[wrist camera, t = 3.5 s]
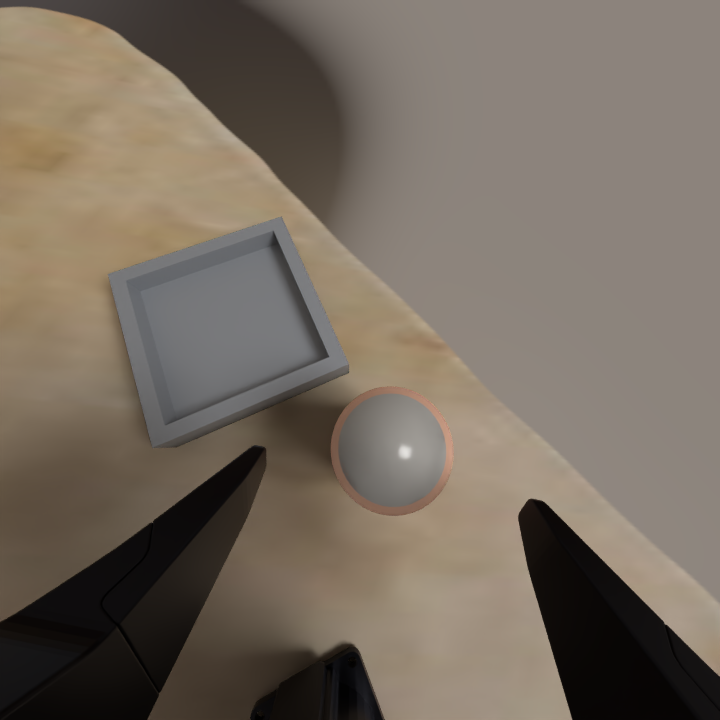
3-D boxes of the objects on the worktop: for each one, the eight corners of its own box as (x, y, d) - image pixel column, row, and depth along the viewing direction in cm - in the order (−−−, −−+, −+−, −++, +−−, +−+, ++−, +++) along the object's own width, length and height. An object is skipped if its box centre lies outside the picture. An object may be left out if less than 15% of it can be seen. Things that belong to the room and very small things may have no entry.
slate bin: (349, 372, 22) (348, 364, 19) (176, 447, 20) (152, 448, 17) (288, 238, 25) (281, 216, 22) (133, 291, 23) (107, 274, 20)
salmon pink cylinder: (421, 463, 20) (476, 479, 11) (356, 495, 19) (362, 540, 11) (390, 398, 21) (418, 368, 13) (327, 426, 20) (311, 415, 12)
